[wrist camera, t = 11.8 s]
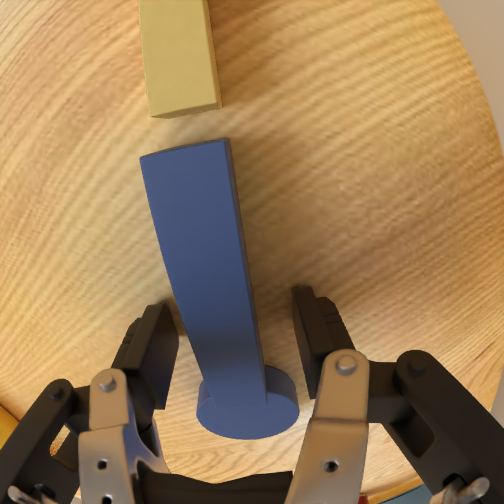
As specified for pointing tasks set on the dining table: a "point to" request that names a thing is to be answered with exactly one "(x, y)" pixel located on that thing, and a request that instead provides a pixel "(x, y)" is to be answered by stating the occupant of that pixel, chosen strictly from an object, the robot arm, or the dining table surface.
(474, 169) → the dining table surface
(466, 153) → the dining table surface
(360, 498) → the soda can
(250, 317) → the spoon
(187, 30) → the bar
